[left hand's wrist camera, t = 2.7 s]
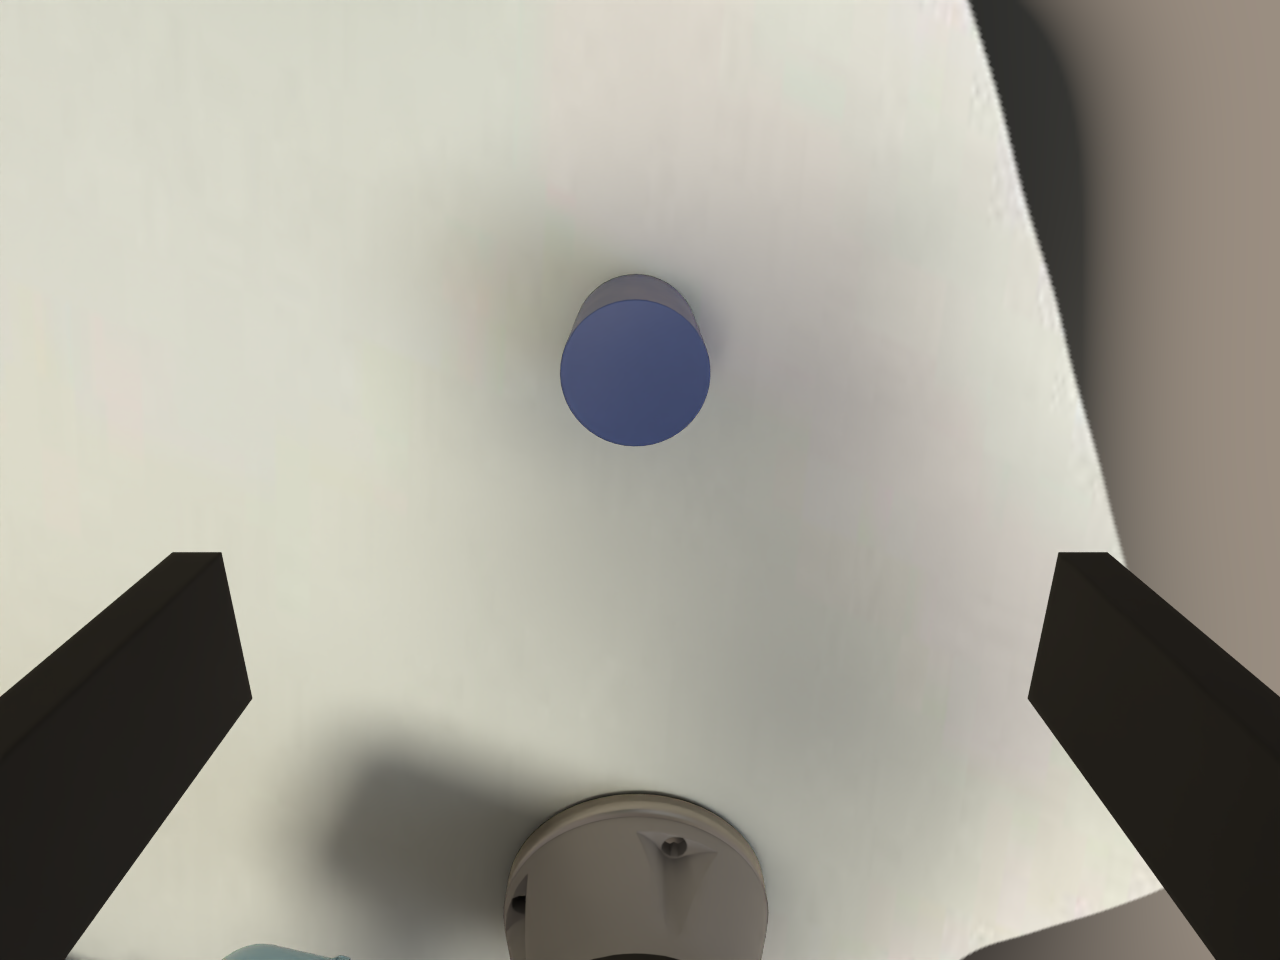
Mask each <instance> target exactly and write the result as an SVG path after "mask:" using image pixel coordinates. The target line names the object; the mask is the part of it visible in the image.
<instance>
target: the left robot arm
mask: <svg viewBox="0 0 1280 960" xmlns="http://www.w3.org/2000/svg"><path fill="white" fill-rule="evenodd" d="M251 700H252V695H251V690H250V685H249V680H248V676H247V671H246V666H245V661H244V657H243V652H242V647H241V643H240V638H239V633H238V628H237V624H236V619H235V614H234V609H233V605H232V600H231V595H230V591H229V586H228V581H227V576H226V572H225V567H224V562H223V557H222V553H221V552H172V553H171V554H170V555H169V556H168V557H166V558H165V559H164V560H163V561H162V562H160V563H159V564H158V565H157V566H156V567H155V568H153V569H152V570H151V571H150V572H149V573H147V574H146V575H145V576H144V577H143V578H141V579H140V580H139V581H138V582H137V583H135V584H134V585H133V586H132V587H131V588H129V589H128V590H127V591H126V592H125V593H124V594H122V595H121V596H120V597H119V598H118V599H116V600H115V601H114V602H113V603H112V604H110V605H109V606H108V607H107V608H106V609H104V610H103V611H102V612H101V613H100V614H99V615H97V616H96V617H95V618H94V619H93V620H91V621H90V622H89V623H88V624H87V625H85V626H84V627H83V628H82V629H81V630H79V631H78V632H77V633H76V634H75V635H73V636H72V637H71V638H70V639H69V640H68V641H66V642H65V643H64V644H63V645H62V646H60V647H59V648H58V649H57V650H56V651H54V652H53V653H52V654H51V655H50V656H48V657H47V658H46V659H45V660H44V661H42V662H41V663H40V664H39V665H38V666H37V667H35V668H34V669H33V670H32V671H31V672H29V673H28V674H27V675H26V676H25V677H23V678H22V679H21V680H20V681H19V682H17V683H16V684H15V685H14V686H13V687H11V688H10V689H9V690H8V691H7V692H6V693H4V694H3V695H2V696H1V697H0V960H64V959H65V958H66V957H67V955H68V954H69V952H70V951H71V950H72V948H73V947H74V945H75V944H76V943H77V941H78V940H79V938H80V937H81V936H82V934H83V933H84V932H85V930H86V929H87V927H88V926H89V925H90V923H91V922H92V920H93V919H94V918H95V916H96V915H97V913H98V912H99V911H100V909H101V908H102V907H103V905H104V904H105V902H106V901H107V900H108V898H109V897H110V895H111V894H112V893H113V891H114V890H115V889H116V887H117V886H118V884H119V883H120V882H121V880H122V879H123V877H124V876H125V875H126V873H127V872H128V870H129V869H130V868H131V866H132V865H133V864H134V862H135V861H136V859H137V858H138V857H139V855H140V854H141V852H142V851H143V850H144V848H145V847H146V845H147V844H148V843H149V841H150V840H151V839H152V837H153V836H154V834H155V833H156V832H157V830H158V829H159V827H160V826H161V825H162V823H163V822H164V820H165V819H166V818H167V816H168V815H169V814H170V812H171V811H172V809H173V808H174V807H175V805H176V804H177V802H178V801H179V800H180V798H181V797H182V795H183V794H184V793H185V791H186V790H187V789H188V787H189V786H190V784H191V783H192V782H193V780H194V779H195V777H196V776H197V775H198V773H199V772H200V770H201V769H202V768H203V766H204V765H205V764H206V762H207V761H208V759H209V758H210V757H211V755H212V754H213V752H214V751H215V750H216V748H217V747H218V745H219V744H220V743H221V741H222V740H223V739H224V737H225V736H226V734H227V733H228V732H229V730H230V729H231V727H232V726H233V725H234V723H235V722H236V720H237V719H238V718H239V716H240V715H241V714H242V712H243V711H244V709H245V708H246V707H247V705H248V704H249V702H250V701H251ZM1028 700H1029V701H1030V702H1031V704H1032V705H1033V707H1034V708H1035V709H1036V711H1037V712H1038V714H1039V715H1040V716H1041V718H1042V719H1043V720H1044V722H1045V723H1046V725H1047V726H1048V727H1049V729H1050V730H1051V732H1052V733H1053V734H1054V736H1055V737H1056V739H1057V740H1058V741H1059V743H1060V744H1061V745H1062V747H1063V748H1064V750H1065V751H1066V752H1067V754H1068V755H1069V757H1070V758H1071V759H1072V761H1073V762H1074V764H1075V765H1076V766H1077V768H1078V769H1079V770H1080V772H1081V773H1082V775H1083V776H1084V777H1085V779H1086V780H1087V782H1088V783H1089V784H1090V786H1091V787H1092V789H1093V790H1094V791H1095V793H1096V794H1097V795H1098V797H1099V798H1100V800H1101V801H1102V802H1103V804H1104V805H1105V807H1106V808H1107V809H1108V811H1109V812H1110V814H1111V815H1112V816H1113V818H1114V819H1115V820H1116V822H1117V823H1118V825H1119V826H1120V827H1121V829H1122V830H1123V832H1124V833H1125V834H1126V836H1127V837H1128V839H1129V840H1130V841H1131V843H1132V844H1133V845H1134V847H1135V848H1136V850H1137V851H1138V852H1139V854H1140V855H1141V857H1142V858H1143V859H1144V861H1145V862H1146V864H1147V865H1148V866H1149V868H1150V869H1151V870H1152V872H1153V873H1154V875H1155V876H1156V877H1157V879H1158V880H1159V882H1160V883H1161V884H1162V886H1163V887H1164V889H1165V890H1166V891H1167V893H1168V894H1169V895H1170V897H1171V898H1172V900H1173V901H1174V902H1175V904H1176V905H1177V907H1178V908H1179V909H1180V911H1181V912H1182V913H1183V915H1184V916H1185V918H1186V919H1187V920H1188V922H1189V923H1190V925H1191V926H1192V927H1193V929H1194V930H1195V932H1196V933H1197V934H1198V936H1199V937H1200V938H1201V940H1202V941H1203V943H1204V944H1205V945H1206V947H1207V948H1208V950H1209V951H1210V952H1211V954H1212V955H1213V956H1214V958H1215V959H1216V960H1280V697H1279V696H1278V695H1277V694H1276V693H1274V692H1273V691H1272V690H1271V689H1270V688H1269V687H1267V686H1266V685H1265V684H1264V683H1263V682H1261V681H1260V680H1259V679H1258V678H1257V677H1255V676H1254V675H1253V674H1252V673H1251V672H1249V671H1248V670H1247V669H1246V668H1245V667H1243V666H1242V665H1241V664H1240V663H1239V662H1238V661H1236V660H1235V659H1234V658H1233V657H1232V656H1230V655H1229V654H1228V653H1227V652H1226V651H1224V650H1223V649H1222V648H1221V647H1220V646H1218V645H1217V644H1216V643H1215V642H1214V641H1212V640H1211V639H1210V638H1209V637H1208V636H1207V635H1205V634H1204V633H1203V632H1202V631H1201V630H1199V629H1198V628H1197V627H1196V626H1195V625H1193V624H1192V623H1191V622H1190V621H1189V620H1187V619H1186V618H1185V617H1184V616H1183V615H1181V614H1180V613H1179V612H1178V611H1177V610H1176V609H1174V608H1173V607H1172V606H1171V605H1170V604H1168V603H1167V602H1166V601H1165V600H1164V599H1162V598H1161V597H1160V596H1159V595H1158V594H1156V593H1155V592H1154V591H1153V590H1152V589H1151V588H1149V587H1148V586H1147V585H1146V584H1145V583H1143V582H1142V581H1141V580H1140V579H1139V578H1137V577H1136V576H1135V575H1134V574H1133V573H1131V572H1130V571H1129V570H1128V569H1127V568H1125V567H1124V566H1123V565H1122V564H1121V563H1120V562H1118V561H1117V560H1116V559H1115V558H1114V557H1112V556H1111V555H1110V554H1109V553H1108V552H1059V553H1058V557H1057V562H1056V567H1055V572H1054V576H1053V581H1052V586H1051V591H1050V595H1049V600H1048V605H1047V609H1046V614H1045V619H1044V624H1043V628H1042V633H1041V638H1040V643H1039V647H1038V652H1037V657H1036V661H1035V666H1034V671H1033V676H1032V680H1031V685H1030V690H1029V695H1028ZM767 923H768V902H767V897H766V891H765V885H764V880H763V875H762V870H761V867H760V864H759V862H758V859H757V857H756V855H755V853H754V851H753V850H752V848H751V847H750V845H749V844H748V842H747V841H746V840H745V839H744V838H743V836H742V835H741V834H740V833H739V832H738V831H737V830H736V829H735V828H734V827H732V826H731V825H730V824H729V823H727V822H726V821H725V820H723V819H722V818H720V817H719V816H717V815H715V814H714V813H712V812H710V811H708V810H706V809H704V808H702V807H700V806H697V805H695V804H692V803H689V802H686V801H683V800H679V799H675V798H671V797H666V796H659V795H650V794H623V795H613V796H607V797H601V798H597V799H593V800H590V801H586V802H583V803H581V804H578V805H575V806H573V807H571V808H568V809H566V810H564V811H562V812H561V813H559V814H557V815H555V816H554V817H552V818H551V819H549V820H548V821H546V822H545V823H544V824H542V825H541V826H540V827H539V828H538V829H537V830H535V831H534V833H533V834H532V835H531V836H530V837H529V838H528V839H527V840H526V842H525V843H524V844H523V846H522V847H521V849H520V850H519V852H518V854H517V855H516V858H515V860H514V862H513V864H512V868H511V871H510V875H509V880H508V886H507V891H506V897H505V903H504V924H505V932H506V938H507V943H508V949H509V954H510V959H511V960H761V958H762V952H763V947H764V941H765V937H766V931H767ZM222 960H350V958H349V957H346V956H341V955H340V956H338V957H335V958H328V957H324V956H319V955H315V954H311V953H306V952H302V951H297V950H293V949H288V948H284V947H280V946H275V945H270V944H255V945H250V946H246V947H243V948H241V949H239V950H236V951H235V952H233V953H231V954H229V955H228V956H226V957H225V958H224V959H222Z"/></svg>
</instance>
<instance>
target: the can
mask: <svg viewBox="0 0 1280 960" xmlns="http://www.w3.org/2000/svg"><path fill="white" fill-rule="evenodd" d="M560 378H561V386H562V390H563V394H564V397H565V400H566V402H567V404H568V406H569V408H570V410H571V411H572V413H573V414H574V416H575V417H576V418H577V420H578V421H579V422H580V423H581V424H582V425H583V426H584V427H585V428H587V429H588V430H589V431H590V432H592V433H593V434H595V435H596V436H598V437H600V438H602V439H604V440H606V441H609V442H612V443H615V444H620V445H625V446H646V445H651V444H655V443H659V442H662V441H664V440H666V439H669V438H671V437H673V436H674V435H676V434H677V433H679V432H680V431H682V430H683V429H684V428H685V427H687V426H688V424H689V423H690V422H691V421H692V420H693V419H694V418H695V416H696V415H697V414H698V412H699V411H700V409H701V407H702V405H703V403H704V401H705V398H706V396H707V392H708V388H709V383H710V363H709V357H708V353H707V350H706V347H705V344H704V341H703V339H702V336H701V334H700V331H699V328H698V326H697V323H696V320H695V318H694V315H693V313H692V311H691V308H690V306H689V305H688V303H687V302H686V300H685V299H684V298H683V296H682V295H681V294H680V293H679V292H678V291H677V290H676V289H675V288H673V287H672V286H671V285H669V284H668V283H666V282H664V281H662V280H660V279H657V278H655V277H651V276H647V275H638V274H635V275H625V276H620V277H617V278H614V279H611V280H609V281H607V282H605V283H603V284H602V285H600V286H599V287H598V288H596V289H595V290H594V291H593V292H592V293H591V294H590V295H589V296H588V298H587V299H586V300H585V302H584V303H583V305H582V307H581V309H580V311H579V313H578V315H577V318H576V320H575V323H574V325H573V328H572V330H571V333H570V335H569V338H568V340H567V343H566V345H565V348H564V351H563V354H562V360H561V367H560Z"/></svg>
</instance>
